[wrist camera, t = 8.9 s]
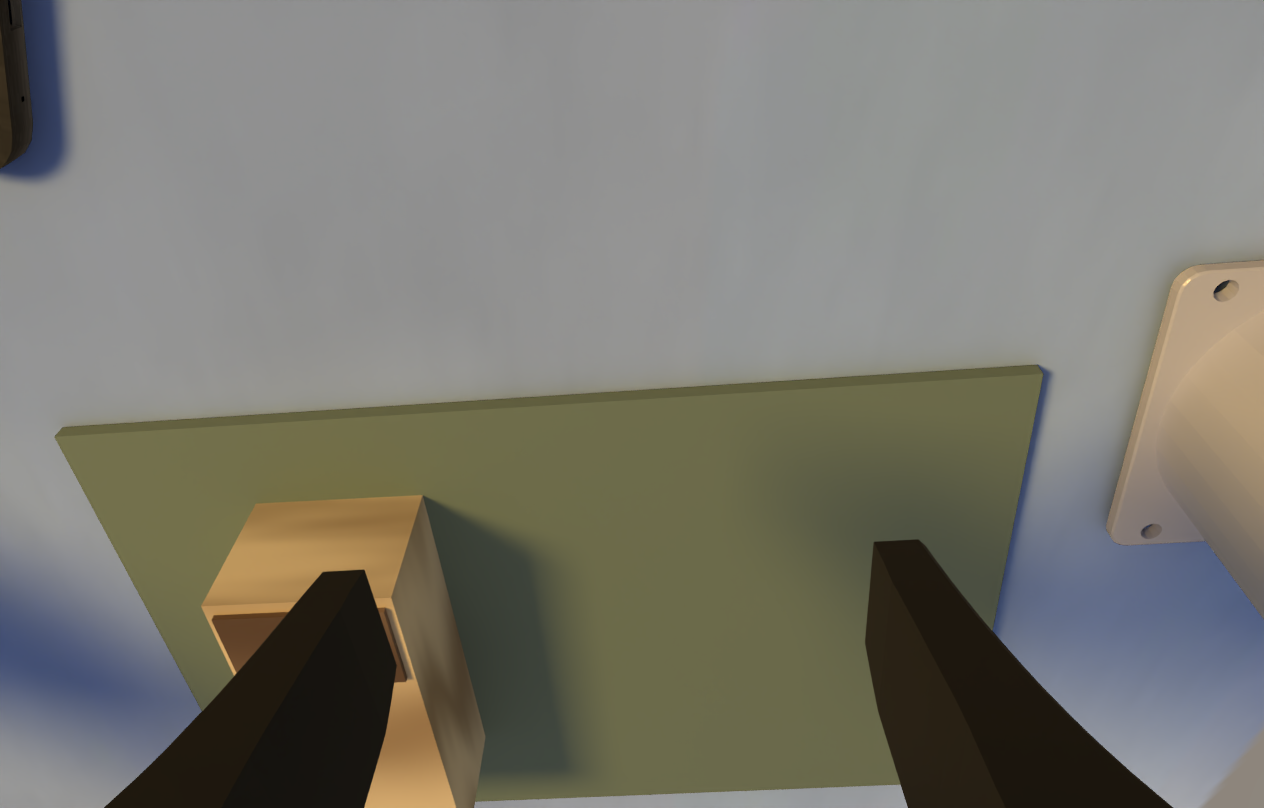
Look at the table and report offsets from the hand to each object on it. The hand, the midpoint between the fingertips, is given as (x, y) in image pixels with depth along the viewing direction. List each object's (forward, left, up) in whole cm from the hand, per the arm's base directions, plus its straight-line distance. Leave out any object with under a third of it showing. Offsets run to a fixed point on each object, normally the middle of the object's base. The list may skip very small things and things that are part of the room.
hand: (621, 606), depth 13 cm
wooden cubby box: (+8, +10, -9) cm, 16 cm away
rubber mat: (+3, +11, -9) cm, 14 cm away
